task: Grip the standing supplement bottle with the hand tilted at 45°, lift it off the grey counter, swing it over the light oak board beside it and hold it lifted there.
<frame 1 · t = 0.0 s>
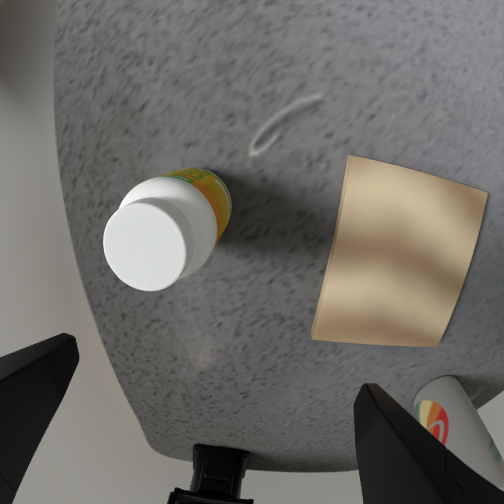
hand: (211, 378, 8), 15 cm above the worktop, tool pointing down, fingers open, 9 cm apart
lotion bottle: (435, 393, 27), on the worktop
supplement bottle: (195, 204, 22), on the worktop
oak board: (402, 262, 22), on the worktop
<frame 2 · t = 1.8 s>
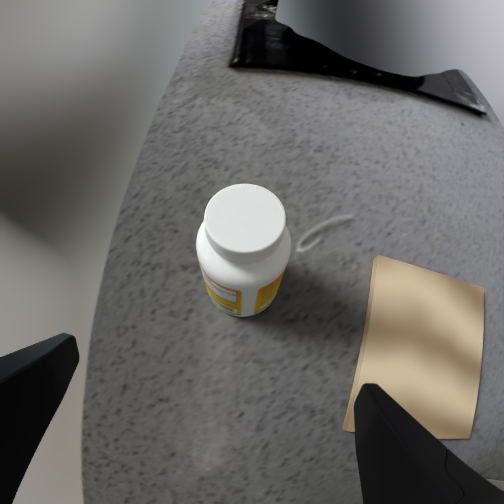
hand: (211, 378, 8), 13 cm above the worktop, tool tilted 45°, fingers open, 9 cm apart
supplement bottle: (242, 284, 24), on the worktop
oak board: (425, 353, 22), on the worktop
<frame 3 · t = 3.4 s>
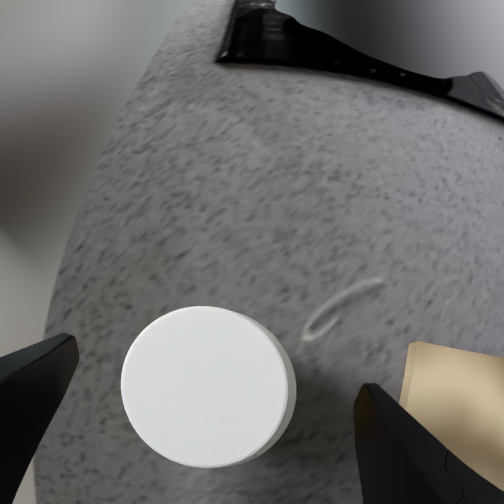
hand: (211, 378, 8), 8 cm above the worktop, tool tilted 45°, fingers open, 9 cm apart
supplement bottle: (222, 390, 15), on the worktop
oak board: (460, 457, 13), on the worktop
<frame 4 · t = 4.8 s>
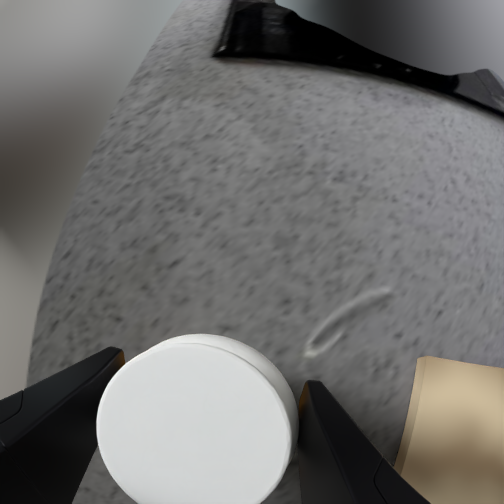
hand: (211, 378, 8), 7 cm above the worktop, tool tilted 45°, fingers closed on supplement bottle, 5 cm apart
supplement bottle: (218, 410, 14), on the worktop, touching gripper
oak board: (466, 473, 12), on the worktop
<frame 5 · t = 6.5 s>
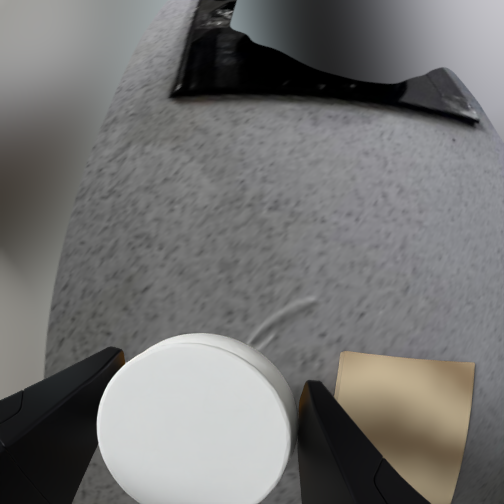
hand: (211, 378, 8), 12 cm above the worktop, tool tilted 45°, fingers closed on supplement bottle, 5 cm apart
supplement bottle: (217, 409, 14), point 5 cm above the worktop, touching gripper
oak board: (399, 449, 18), on the worktop
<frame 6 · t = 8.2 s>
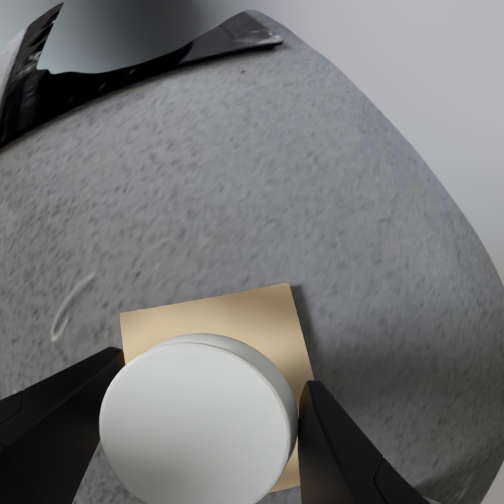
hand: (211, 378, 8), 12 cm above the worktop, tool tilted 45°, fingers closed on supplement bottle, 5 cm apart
supplement bottle: (218, 408, 14), point 5 cm above the worktop, touching gripper
oak board: (223, 400, 19), on the worktop
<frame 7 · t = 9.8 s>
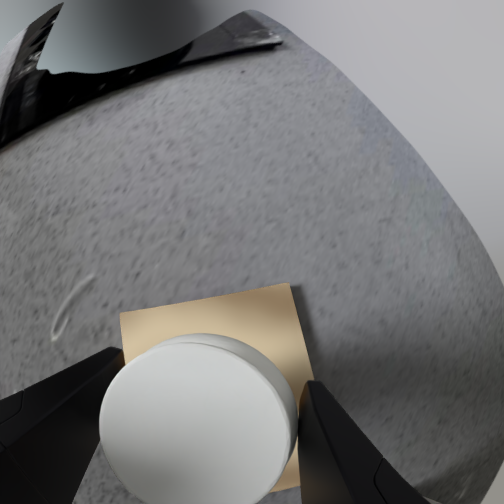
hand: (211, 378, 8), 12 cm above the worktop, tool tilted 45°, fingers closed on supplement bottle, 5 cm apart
supplement bottle: (218, 408, 14), point 5 cm above the worktop, touching gripper
oak board: (223, 400, 19), on the worktop
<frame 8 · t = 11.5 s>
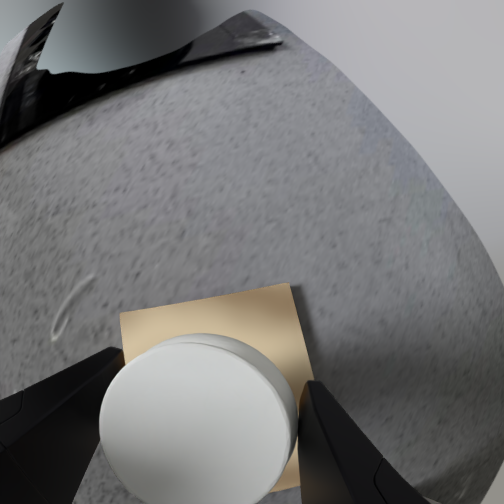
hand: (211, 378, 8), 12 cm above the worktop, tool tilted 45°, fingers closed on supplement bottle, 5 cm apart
supplement bottle: (218, 408, 14), point 5 cm above the worktop, touching gripper
oak board: (223, 400, 19), on the worktop
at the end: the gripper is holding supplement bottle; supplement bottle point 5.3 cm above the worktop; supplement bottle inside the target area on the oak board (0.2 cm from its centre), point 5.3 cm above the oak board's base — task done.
